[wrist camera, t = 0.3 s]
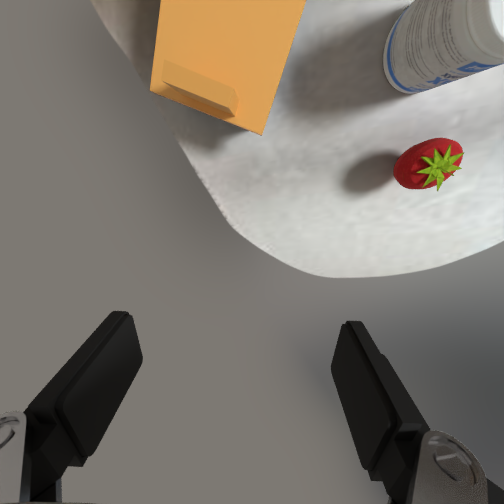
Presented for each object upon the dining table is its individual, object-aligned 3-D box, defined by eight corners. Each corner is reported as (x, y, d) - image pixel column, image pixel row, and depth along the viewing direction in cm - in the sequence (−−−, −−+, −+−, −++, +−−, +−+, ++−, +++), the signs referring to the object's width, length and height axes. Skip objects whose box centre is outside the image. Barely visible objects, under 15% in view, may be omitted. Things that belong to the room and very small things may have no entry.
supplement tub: (399, 111, 31) (503, 85, 18) (366, 44, 28) (462, -46, 15) (472, 53, 28) (660, -29, 15) (443, -28, 25) (647, -218, 12)
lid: (186, -115, 19) (143, -269, 12) (320, -45, 21) (353, -146, 14) (157, 94, 26) (118, 74, 19) (261, 135, 28) (262, 131, 20)
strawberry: (431, 168, 34) (494, 176, 25) (382, 191, 36) (423, 206, 27) (425, 129, 32) (491, 123, 23) (373, 155, 34) (415, 158, 25)
